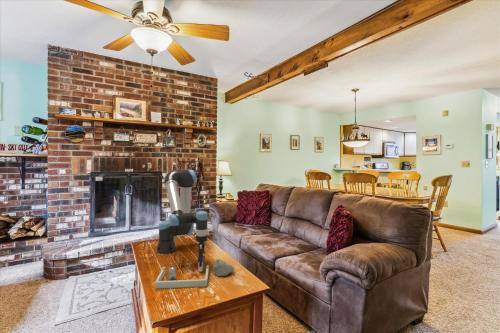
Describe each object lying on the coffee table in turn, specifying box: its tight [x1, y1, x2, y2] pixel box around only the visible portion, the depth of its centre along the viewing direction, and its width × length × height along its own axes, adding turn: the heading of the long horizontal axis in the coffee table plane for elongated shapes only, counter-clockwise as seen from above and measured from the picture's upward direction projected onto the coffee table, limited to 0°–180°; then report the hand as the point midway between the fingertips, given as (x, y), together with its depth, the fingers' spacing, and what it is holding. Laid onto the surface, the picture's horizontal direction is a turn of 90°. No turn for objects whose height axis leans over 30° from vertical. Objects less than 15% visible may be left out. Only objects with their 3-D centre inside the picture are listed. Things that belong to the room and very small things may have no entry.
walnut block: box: [197, 255, 206, 270], centre depth 166 cm, size 4×4×7 cm
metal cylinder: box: [168, 265, 177, 281], centre depth 149 cm, size 4×4×7 cm
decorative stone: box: [212, 258, 235, 277], centre depth 157 cm, size 13×11×10 cm
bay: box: [154, 264, 210, 290], centre depth 148 cm, size 18×29×4 cm, turn 97°
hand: (201, 267), depth 166 cm, fingers open, 12 cm apart
